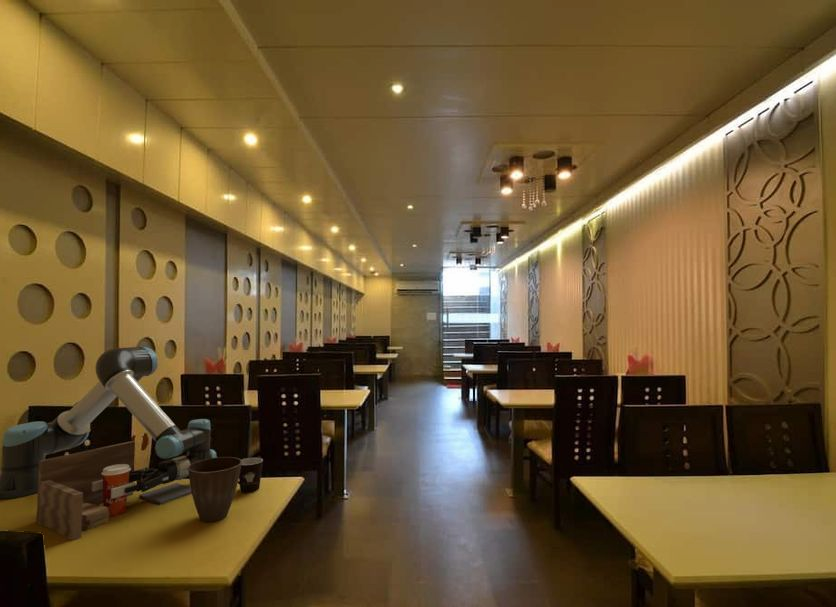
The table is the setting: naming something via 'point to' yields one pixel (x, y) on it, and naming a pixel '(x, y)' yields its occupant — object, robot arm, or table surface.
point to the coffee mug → (250, 474)
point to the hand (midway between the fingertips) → (101, 490)
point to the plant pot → (214, 486)
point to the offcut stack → (93, 515)
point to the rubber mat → (167, 493)
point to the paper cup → (113, 479)
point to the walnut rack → (75, 485)
